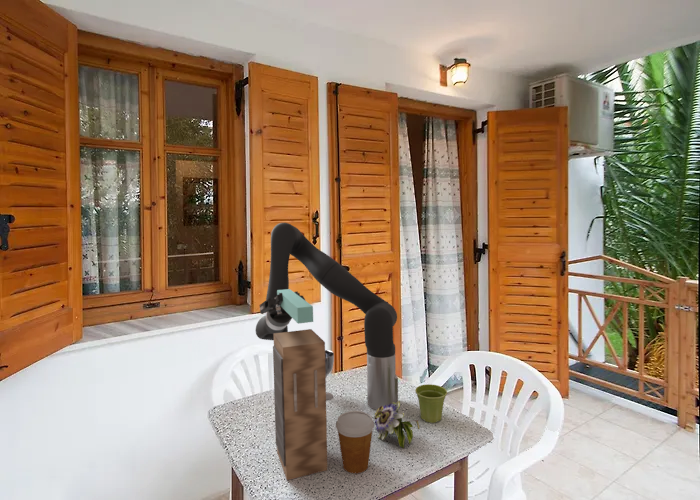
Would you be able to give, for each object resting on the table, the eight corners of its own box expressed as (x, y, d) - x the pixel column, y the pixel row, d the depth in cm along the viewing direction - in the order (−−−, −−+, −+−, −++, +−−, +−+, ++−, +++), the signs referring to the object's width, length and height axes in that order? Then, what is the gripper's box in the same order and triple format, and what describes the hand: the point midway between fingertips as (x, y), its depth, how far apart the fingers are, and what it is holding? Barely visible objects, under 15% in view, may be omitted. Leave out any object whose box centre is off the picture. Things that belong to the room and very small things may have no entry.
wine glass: (339, 394, 140) (338, 352, 138) (325, 403, 133) (324, 359, 132) (320, 389, 144) (319, 348, 143) (306, 398, 137) (305, 355, 136)
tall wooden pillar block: (313, 444, 109) (311, 329, 107) (327, 471, 98) (325, 342, 95) (275, 452, 106) (271, 333, 103) (285, 481, 94) (281, 348, 91)
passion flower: (381, 456, 112) (363, 414, 117) (413, 440, 117) (395, 399, 121) (394, 454, 103) (375, 407, 108) (429, 436, 107) (409, 392, 112)
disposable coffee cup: (335, 455, 104) (334, 411, 103) (371, 453, 105) (371, 409, 104) (337, 479, 95) (336, 430, 94) (377, 476, 95) (377, 428, 94)
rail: (290, 301, 114) (289, 289, 114) (313, 321, 92) (312, 306, 92) (277, 302, 113) (277, 290, 113) (297, 323, 91) (297, 307, 90)
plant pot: (447, 427, 117) (447, 398, 116) (414, 424, 119) (414, 396, 118) (446, 412, 126) (446, 385, 125) (416, 409, 128) (416, 383, 127)
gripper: (254, 305, 120) (260, 284, 105) (300, 300, 125) (312, 280, 110) (256, 329, 117) (263, 312, 102) (304, 324, 122) (317, 306, 107)
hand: (289, 295), depth 106 cm, fingers closed on rail, 3 cm apart
